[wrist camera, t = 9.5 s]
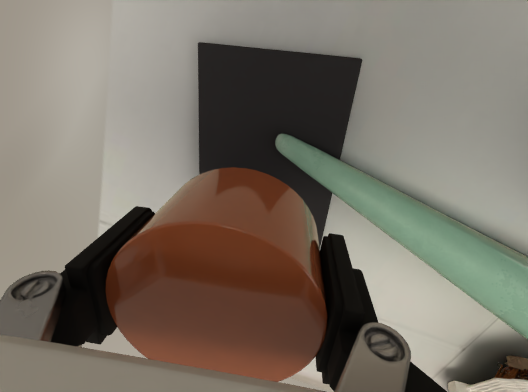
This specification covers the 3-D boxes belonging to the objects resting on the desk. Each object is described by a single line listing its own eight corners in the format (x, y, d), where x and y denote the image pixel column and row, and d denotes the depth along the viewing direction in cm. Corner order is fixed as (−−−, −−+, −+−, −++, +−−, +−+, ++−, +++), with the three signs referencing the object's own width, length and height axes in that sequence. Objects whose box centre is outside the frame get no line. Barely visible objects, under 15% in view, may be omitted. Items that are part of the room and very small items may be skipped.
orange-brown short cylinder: (160, 156, 11) (84, 204, 7) (332, 178, 11) (353, 243, 7) (170, 285, 14) (120, 370, 10) (304, 306, 14) (306, 403, 10)
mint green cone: (237, 213, 17) (587, 392, 18) (275, 137, 15) (675, 348, 16) (254, 183, 22) (529, 326, 23) (285, 122, 20) (590, 284, 21)
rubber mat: (200, 43, 17) (197, 42, 16) (360, 59, 16) (362, 58, 16) (202, 248, 24) (200, 252, 23) (314, 265, 23) (315, 270, 23)
